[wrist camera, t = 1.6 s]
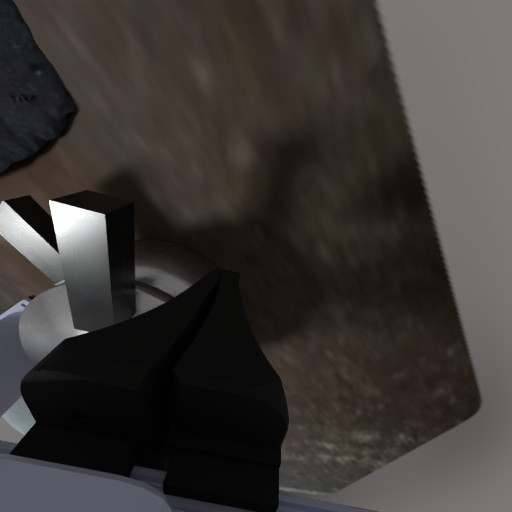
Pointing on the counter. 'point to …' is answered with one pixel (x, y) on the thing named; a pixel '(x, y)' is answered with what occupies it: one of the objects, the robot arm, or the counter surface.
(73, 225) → the lid
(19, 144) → the dark slate chunk
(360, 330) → the counter surface
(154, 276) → the pot
